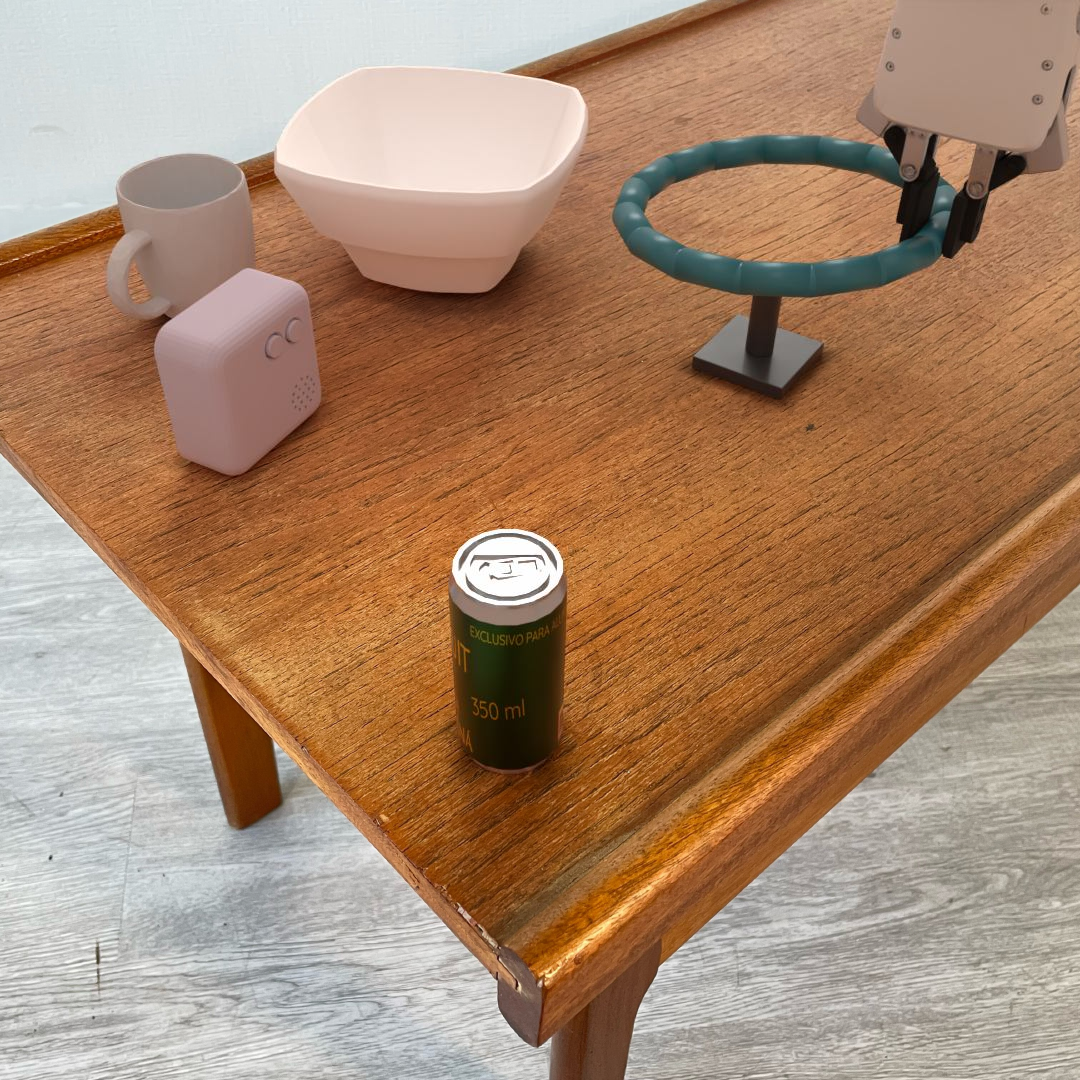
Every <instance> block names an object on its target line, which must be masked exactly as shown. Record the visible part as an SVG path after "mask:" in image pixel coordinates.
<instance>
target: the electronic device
mask: <svg viewBox="0 0 1080 1080" xmlns="http://www.w3.org/2000/svg"><path fill="white" fill-rule="evenodd" d="M314 335H315V334H314V327H313V320H312V313H311V306H310V300H309V295H308V293H307V291H306V289H305V288H304V287H303V286H302V285H301V284H299V283H298V282H295V281H294V280H291V279H289V278H284V277H280V276H277V275H274V274H272V273H268V272H265V271H261V270H258V269H256V268H255V269H252V268H246V269H244V270H242V271H240V272H239V273H237V274H236V275H235V276H233V277H232V278H230V279H229V280H227V281H226V282H224V283H223V284H222V285H220V286H219V287H217V288H216V289H214V290H213V291H212V292H210V293H209V294H207V295H206V296H204V297H203V298H202V299H200V300H199V301H197V302H196V303H194V304H193V305H191V306H190V307H189V308H187V309H186V310H184V311H183V312H181V313H180V314H179V315H177V316H176V317H174V318H173V319H172V318H171V319H170V320H169V321H167V322H166V323H164V325H162V326H161V328H160V329H159V330H158V332H157V334H156V337H155V340H154V345H153V354H154V358H155V363H156V367H157V371H158V376H159V379H160V382H161V388H162V392H163V395H164V400H165V403H166V408H167V412H168V416H169V420H170V425H171V428H172V432H173V436H174V440H175V445H176V449H177V451H178V454H179V455H180V457H182V459H184V460H187V461H190V462H192V463H195V464H197V465H200V466H202V467H205V468H208V469H211V470H213V471H215V472H218V473H220V474H223V475H227V476H231V477H234V476H240V475H242V474H245V473H246V472H247V471H249V470H250V469H251V468H252V467H253V466H254V465H255V464H257V463H258V462H259V461H260V460H261V459H262V458H264V457H265V456H266V455H267V454H268V453H269V452H270V451H271V450H272V449H274V448H275V447H276V446H277V445H279V443H281V442H282V441H283V440H284V439H285V438H286V437H288V436H289V435H290V434H291V433H292V432H293V431H295V429H297V428H298V427H299V426H300V425H302V423H304V422H305V421H306V420H307V419H308V418H310V417H311V416H312V415H313V414H314V413H315V412H316V411H317V410H318V408H319V406H320V405H321V401H322V397H323V396H322V395H323V394H322V386H321V379H320V371H319V370H320V369H319V364H318V357H317V348H316V342H315V336H314Z"/></svg>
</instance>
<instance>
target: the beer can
mask: <svg viewBox="0 0 1080 1080" xmlns="http://www.w3.org/2000/svg"><path fill="white" fill-rule="evenodd" d="M559 552H560V551H559V550H558V549H557V548H556V547H555V546H554V545H553V544H552V543H551V542H550V541H549V540H548V539H547V538H544V537H543V536H540V535H538V534H536V533H534V532H531V531H526V530H521V529H517V528H515V529H514V528H513V529H511V528H510V529H509V528H508V529H507V528H506V529H505V528H503V529H502V528H500V529H495V530H490V531H486V532H483V533H480V534H478V535H476V536H474V537H472V538H470V539H469V540H467V541H466V542H465V543H464V544H463V545H462V546H460V548H458V551H457V552H456V554H455V556H454V558H453V559H452V569H451V571H450V573H449V574H448V586H447V591H448V593H447V594H448V606H449V607H448V609H449V624H450V625H449V626H450V640H451V641H450V642H451V658H452V659H451V660H452V673H453V674H452V677H453V691H454V708H455V709H454V710H455V725H456V735H457V738H458V741H459V744H460V746H461V748H462V749H463V750H464V751H465V752H466V754H467V755H468V757H470V758H471V759H472V760H473V762H474V763H475V764H476V765H479V766H480V767H482V768H483V769H485V770H487V771H489V772H493V773H497V774H500V775H518V774H522V773H527V772H529V771H532V770H534V769H536V768H537V767H539V766H541V765H543V764H544V763H545V762H546V760H547V759H548V758H549V757H550V756H551V755H552V754H553V753H554V752H555V751H556V749H557V748H558V747H559V744H560V741H561V739H562V736H563V730H564V703H565V701H564V699H565V671H566V670H565V667H566V642H567V640H566V639H567V611H568V609H567V608H568V606H567V605H568V575H567V573H566V571H565V569H564V566H563V559H562V557H561V554H560V553H559Z"/></svg>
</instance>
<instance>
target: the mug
mask: <svg viewBox="0 0 1080 1080" xmlns="http://www.w3.org/2000/svg"><path fill="white" fill-rule="evenodd" d="M115 185H116V186H115V191H116V192H115V193H116V201H117V206H118V211H119V214H120V218H121V222H122V226H123V230H124V234H123V236H122V237H120V239H119V241H117V243H116V244H115V246H114V247H113V249H112V251H111V253H110V256H109V259H108V260H107V264H106V268H105V269H106V270H105V271H106V272H105V283H106V292H107V294H108V297H109V298H110V301H111V303H112V305H113V306H114V307H115V308H116V309H117V311H119V312H120V313H122V314H123V315H125V316H127V317H128V318H130V319H133V320H137V321H152V320H153V319H157V318H159V317H161V316H162V315H166V316H167V317H168V318H171V319H173V318H174V317H176V316H177V315H179V314H180V313H181V312H183V311H184V310H186V309H187V308H189V307H190V306H191V305H193V304H194V303H196V302H197V301H199V300H200V299H202V298H203V297H204V296H206V295H207V294H209V293H210V292H212V291H213V290H214V289H216V288H217V287H219V286H220V285H222V284H223V283H224V282H226V281H227V280H229V279H230V278H232V277H233V276H235V275H236V274H237V273H239V272H240V271H242V270H244V269H246V268H252V269H255V270H256V238H255V237H256V236H255V227H254V217H253V210H252V209H253V208H252V203H251V199H250V192H249V186H248V182H247V179H246V176H245V173H244V171H243V170H242V168H241V167H239V166H238V165H237V164H236V163H234V162H232V161H231V160H229V159H227V158H225V157H224V158H223V157H220V156H216V155H213V154H207V153H192V152H188V153H177V154H171V155H165V156H159V157H156V158H153V159H149V160H146V161H144V162H141V163H139V164H137V165H135V166H133V167H131V168H129V169H128V170H127V171H125V172H124V173H123V174H122V175H120V177H119V178H118V179H117V182H116V184H115ZM133 263H134V264H135V266H136V270H137V273H138V274H139V276H140V278H141V280H142V282H143V284H144V286H145V288H146V290H147V292H148V294H149V296H150V297H151V298H150V299H149V300H147V301H145V302H142V303H138V304H137V303H135V302H134V300H133V299H132V296H131V292H130V288H129V278H130V271H131V268H132V265H133Z"/></svg>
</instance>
